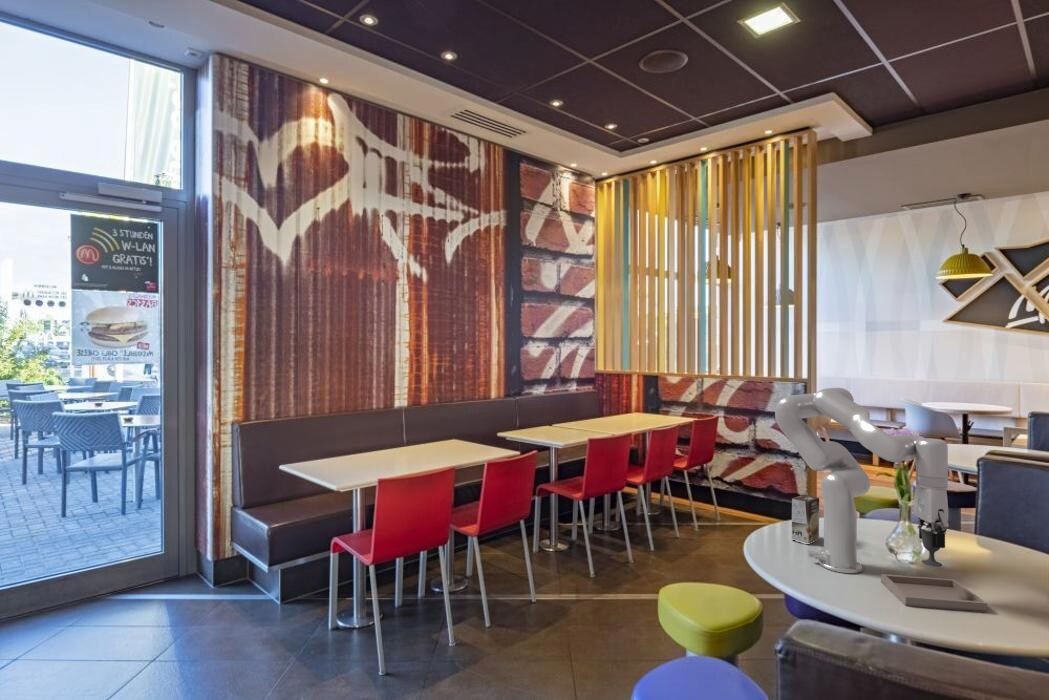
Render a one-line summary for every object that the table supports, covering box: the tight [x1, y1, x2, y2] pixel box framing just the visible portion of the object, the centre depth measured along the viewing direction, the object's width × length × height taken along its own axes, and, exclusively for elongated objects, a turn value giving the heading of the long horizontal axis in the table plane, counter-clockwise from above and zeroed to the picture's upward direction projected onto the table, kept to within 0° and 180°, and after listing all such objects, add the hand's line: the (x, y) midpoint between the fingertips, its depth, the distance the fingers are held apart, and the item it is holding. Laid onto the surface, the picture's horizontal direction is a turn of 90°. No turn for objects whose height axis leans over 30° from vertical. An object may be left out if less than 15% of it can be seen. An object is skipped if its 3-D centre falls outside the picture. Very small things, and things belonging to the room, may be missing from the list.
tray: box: [880, 573, 988, 613], centre depth 162 cm, size 20×16×2 cm
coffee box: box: [791, 494, 820, 544], centre depth 208 cm, size 9×6×16 cm
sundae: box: [917, 518, 943, 568], centre depth 162 cm, size 7×7×15 cm
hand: (931, 542), depth 162 cm, fingers closed on sundae, 6 cm apart
